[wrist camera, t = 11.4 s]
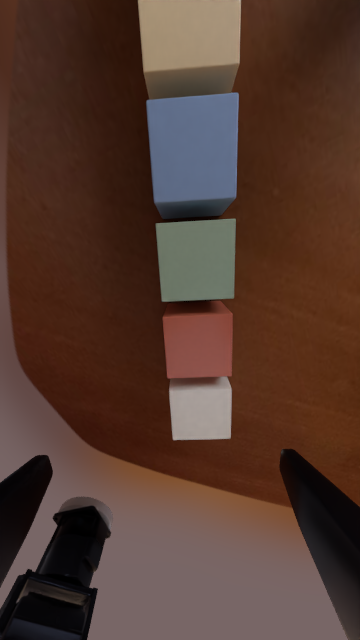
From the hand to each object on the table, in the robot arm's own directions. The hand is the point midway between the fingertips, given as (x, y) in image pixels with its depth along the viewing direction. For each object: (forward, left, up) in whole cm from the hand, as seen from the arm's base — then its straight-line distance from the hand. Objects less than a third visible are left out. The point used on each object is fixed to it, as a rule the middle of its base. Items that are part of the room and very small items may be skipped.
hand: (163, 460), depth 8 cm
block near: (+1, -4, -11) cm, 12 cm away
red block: (+2, +1, -11) cm, 11 cm away
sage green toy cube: (+4, +6, -11) cm, 13 cm away
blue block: (+5, +12, -11) cm, 17 cm away
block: (+7, +17, -11) cm, 21 cm away
